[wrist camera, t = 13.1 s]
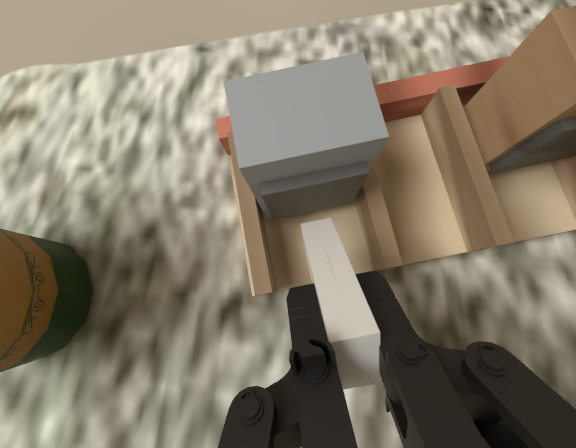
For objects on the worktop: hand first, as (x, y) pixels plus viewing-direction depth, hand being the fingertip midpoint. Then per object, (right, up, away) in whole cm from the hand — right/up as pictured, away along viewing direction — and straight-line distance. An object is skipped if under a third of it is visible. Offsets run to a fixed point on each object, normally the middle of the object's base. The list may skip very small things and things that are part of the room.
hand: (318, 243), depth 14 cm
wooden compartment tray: (+7, +4, +7) cm, 11 cm away
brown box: (+13, +7, +6) cm, 16 cm away
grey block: (0, +4, +6) cm, 7 cm away
